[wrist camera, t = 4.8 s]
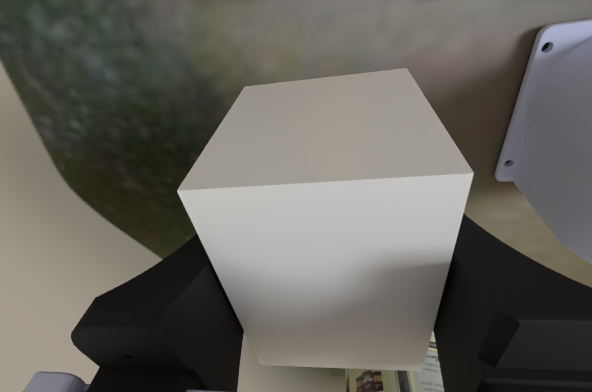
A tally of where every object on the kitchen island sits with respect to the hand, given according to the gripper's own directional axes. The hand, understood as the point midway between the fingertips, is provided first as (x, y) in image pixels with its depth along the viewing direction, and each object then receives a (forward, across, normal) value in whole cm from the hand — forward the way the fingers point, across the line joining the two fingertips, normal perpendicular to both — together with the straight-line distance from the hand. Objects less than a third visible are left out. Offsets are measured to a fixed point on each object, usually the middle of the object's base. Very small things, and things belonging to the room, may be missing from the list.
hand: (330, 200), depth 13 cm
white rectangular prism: (+2, 0, 0) cm, 2 cm away
